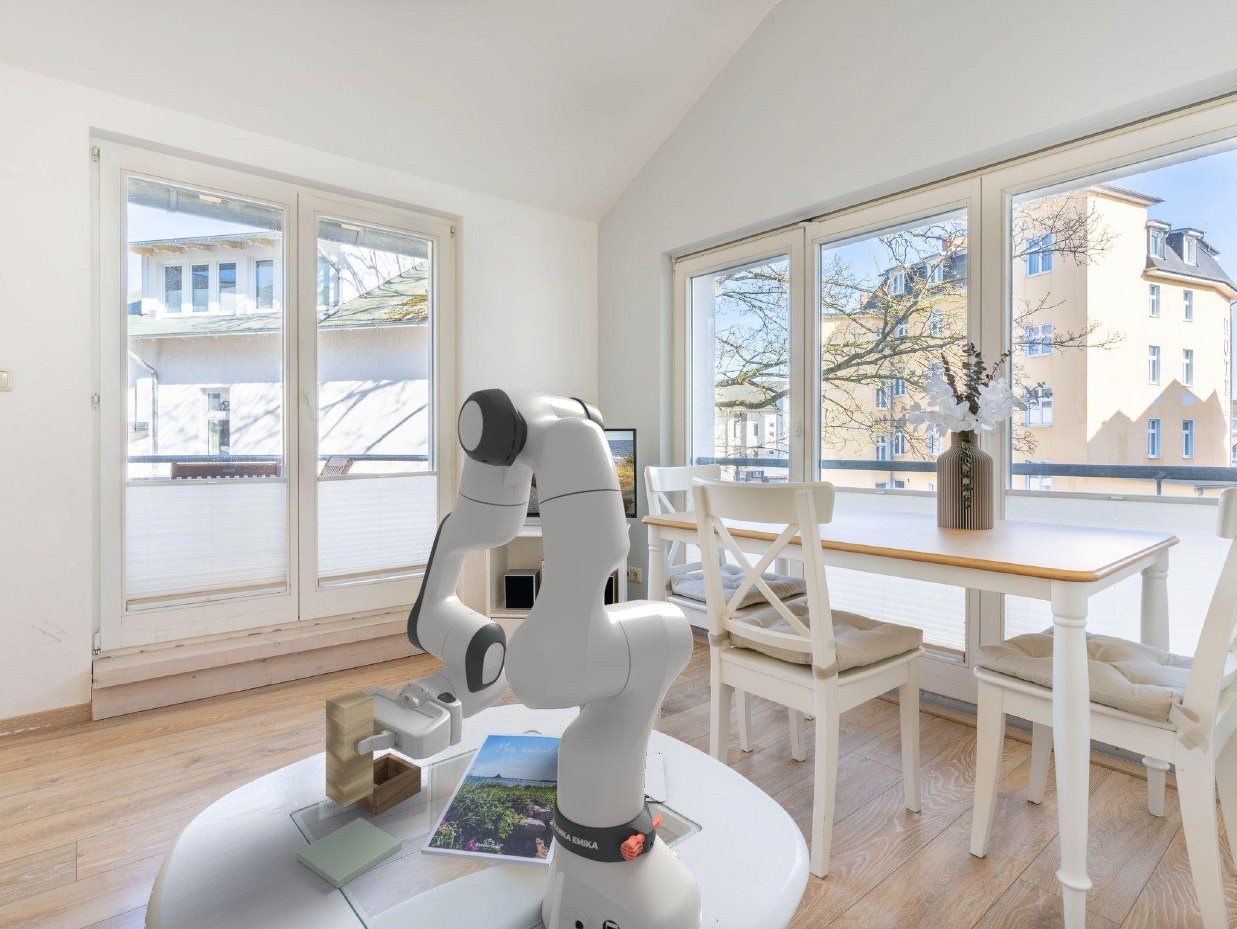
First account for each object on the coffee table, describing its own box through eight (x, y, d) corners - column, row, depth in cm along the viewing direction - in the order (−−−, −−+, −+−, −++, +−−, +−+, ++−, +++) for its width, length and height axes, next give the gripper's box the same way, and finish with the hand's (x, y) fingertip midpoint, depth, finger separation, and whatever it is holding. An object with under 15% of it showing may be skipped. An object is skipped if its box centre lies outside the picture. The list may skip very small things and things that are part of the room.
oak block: (373, 792, 91) (373, 696, 90) (344, 807, 88) (344, 708, 87) (354, 781, 94) (354, 688, 93) (325, 795, 90) (325, 699, 89)
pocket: (421, 790, 107) (421, 767, 107) (376, 815, 100) (376, 790, 100) (389, 774, 112) (389, 752, 111) (344, 797, 105) (344, 773, 104)
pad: (401, 848, 92) (401, 841, 92) (337, 888, 84) (337, 881, 84) (360, 823, 98) (360, 817, 98) (296, 858, 89) (296, 851, 89)
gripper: (383, 672, 107) (303, 700, 95) (468, 705, 95) (389, 741, 84) (383, 708, 107) (303, 741, 95) (468, 746, 95) (388, 788, 84)
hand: (344, 741), depth 89 cm, fingers closed on oak block, 4 cm apart
